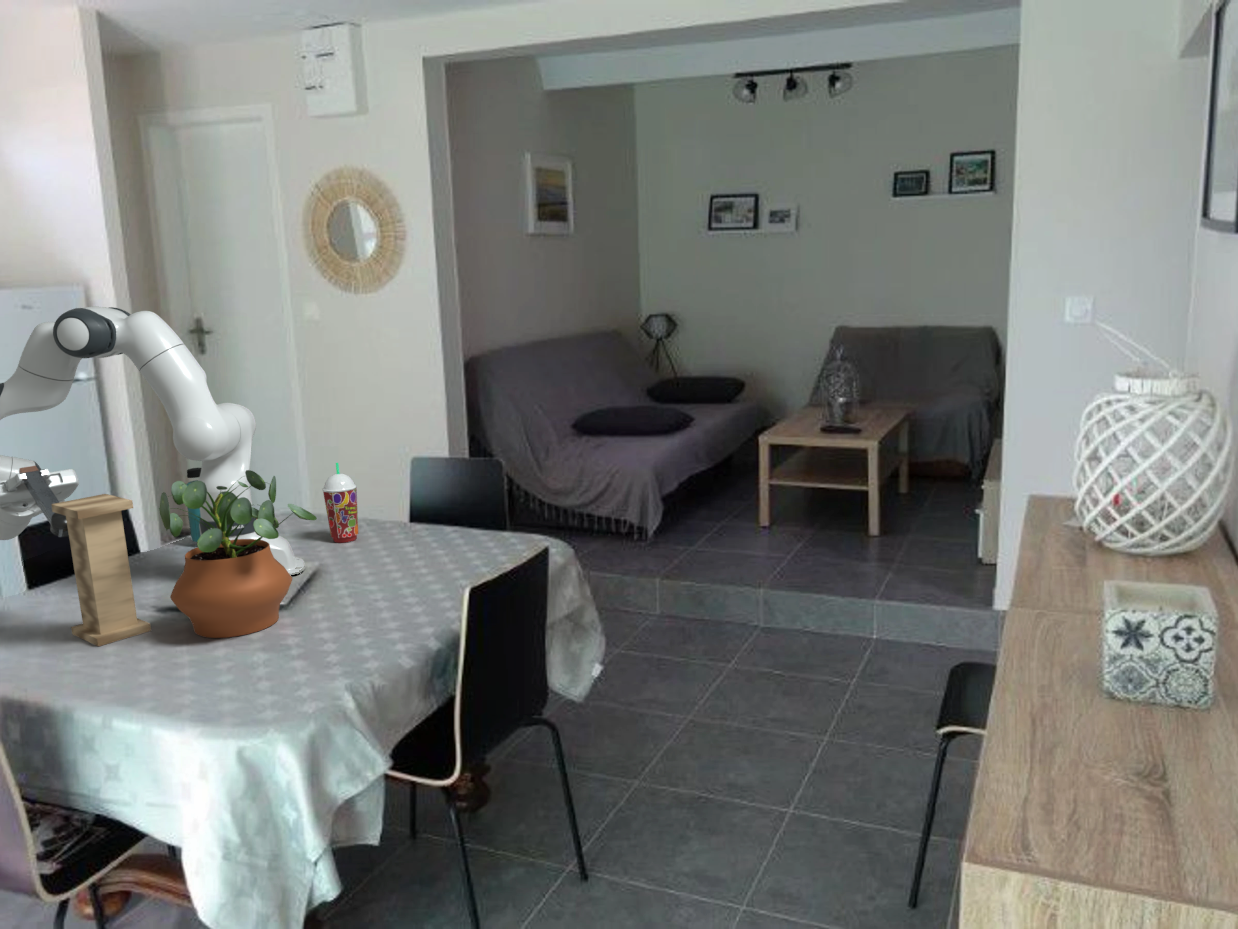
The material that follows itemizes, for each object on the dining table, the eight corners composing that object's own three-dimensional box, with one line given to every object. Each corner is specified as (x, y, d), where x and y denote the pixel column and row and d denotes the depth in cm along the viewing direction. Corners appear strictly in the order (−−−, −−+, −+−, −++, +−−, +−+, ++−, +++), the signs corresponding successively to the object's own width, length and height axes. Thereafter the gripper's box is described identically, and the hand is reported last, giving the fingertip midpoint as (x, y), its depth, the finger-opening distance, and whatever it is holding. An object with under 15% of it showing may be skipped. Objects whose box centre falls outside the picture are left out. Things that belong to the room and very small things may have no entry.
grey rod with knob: (15, 476, 213) (16, 465, 212) (38, 472, 217) (39, 461, 215) (55, 538, 204) (57, 527, 203) (78, 533, 208) (80, 522, 206)
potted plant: (186, 612, 210) (166, 468, 204) (328, 595, 216) (313, 455, 210) (165, 651, 188) (142, 491, 182) (324, 631, 194) (306, 475, 188)
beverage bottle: (209, 547, 261) (199, 470, 258) (186, 547, 263) (175, 471, 259) (224, 540, 268) (214, 465, 264) (201, 540, 269) (191, 465, 265)
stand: (72, 634, 200) (51, 504, 195) (124, 619, 208) (105, 493, 203) (98, 646, 192) (77, 511, 187) (151, 630, 200) (132, 500, 195)
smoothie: (357, 543, 258) (349, 465, 254) (324, 545, 258) (315, 466, 254) (365, 535, 266) (357, 459, 262) (333, 536, 266) (325, 460, 262)
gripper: (-42, 496, 214) (-28, 469, 205) (61, 478, 229) (79, 452, 220) (-33, 523, 213) (-18, 497, 204) (71, 504, 228) (89, 479, 219)
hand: (33, 474), depth 212 cm, fingers closed on grey rod with knob, 3 cm apart
